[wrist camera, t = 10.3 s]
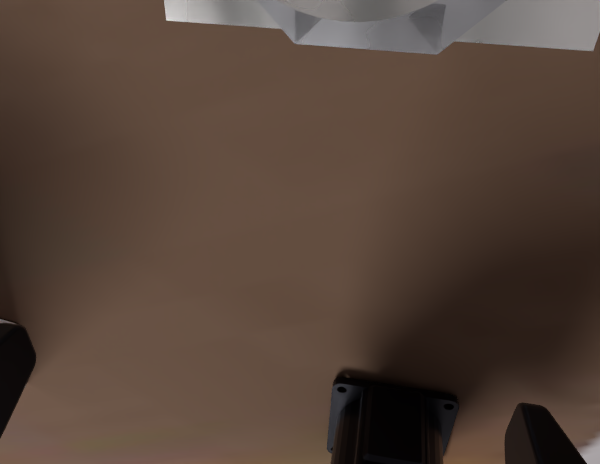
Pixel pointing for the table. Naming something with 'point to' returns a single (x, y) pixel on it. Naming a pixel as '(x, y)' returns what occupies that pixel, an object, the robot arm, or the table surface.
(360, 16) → the lens
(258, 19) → the camera body
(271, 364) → the table surface
